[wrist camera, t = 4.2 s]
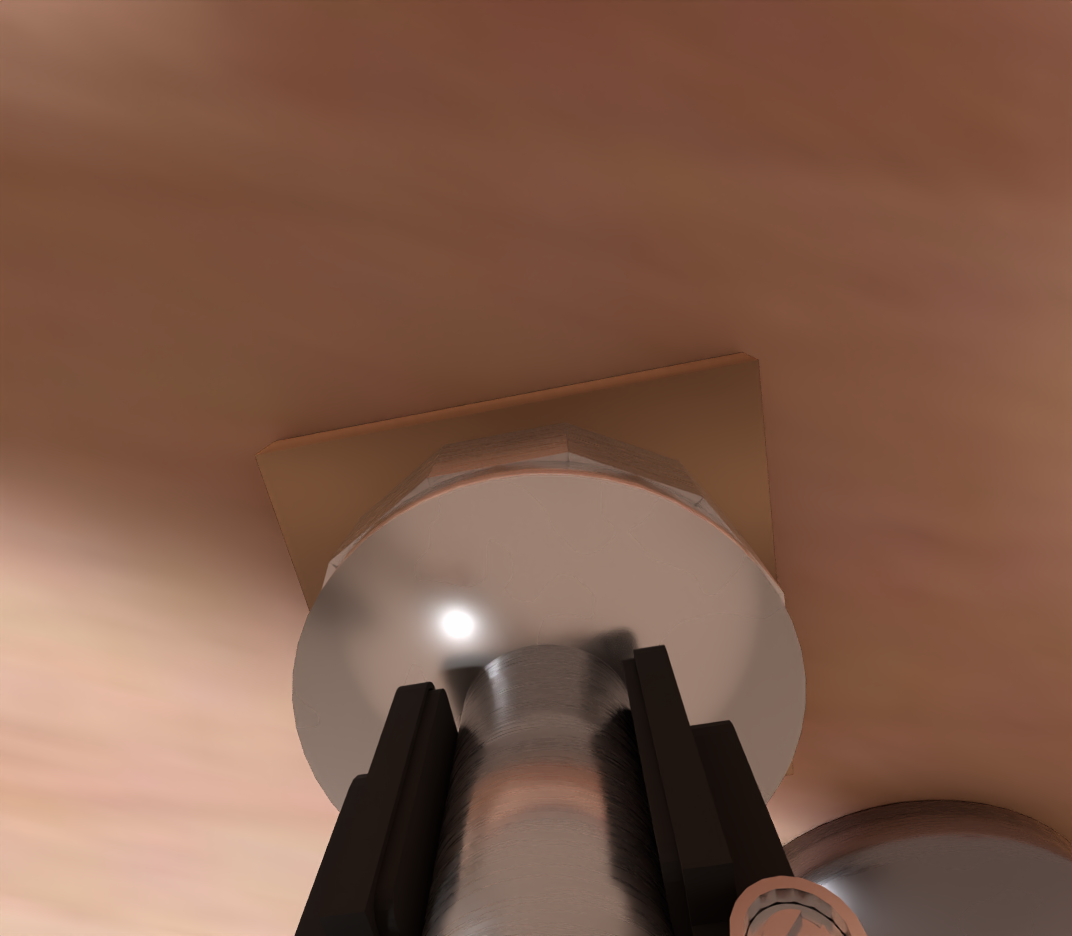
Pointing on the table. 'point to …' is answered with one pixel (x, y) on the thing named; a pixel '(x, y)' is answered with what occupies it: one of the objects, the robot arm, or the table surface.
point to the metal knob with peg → (545, 665)
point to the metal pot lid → (942, 870)
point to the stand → (600, 406)
